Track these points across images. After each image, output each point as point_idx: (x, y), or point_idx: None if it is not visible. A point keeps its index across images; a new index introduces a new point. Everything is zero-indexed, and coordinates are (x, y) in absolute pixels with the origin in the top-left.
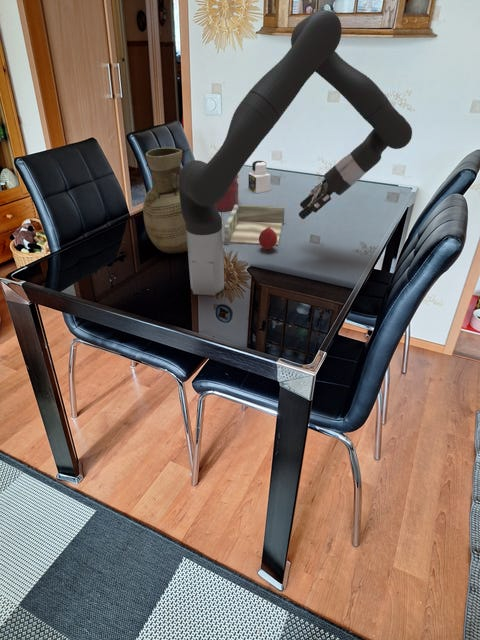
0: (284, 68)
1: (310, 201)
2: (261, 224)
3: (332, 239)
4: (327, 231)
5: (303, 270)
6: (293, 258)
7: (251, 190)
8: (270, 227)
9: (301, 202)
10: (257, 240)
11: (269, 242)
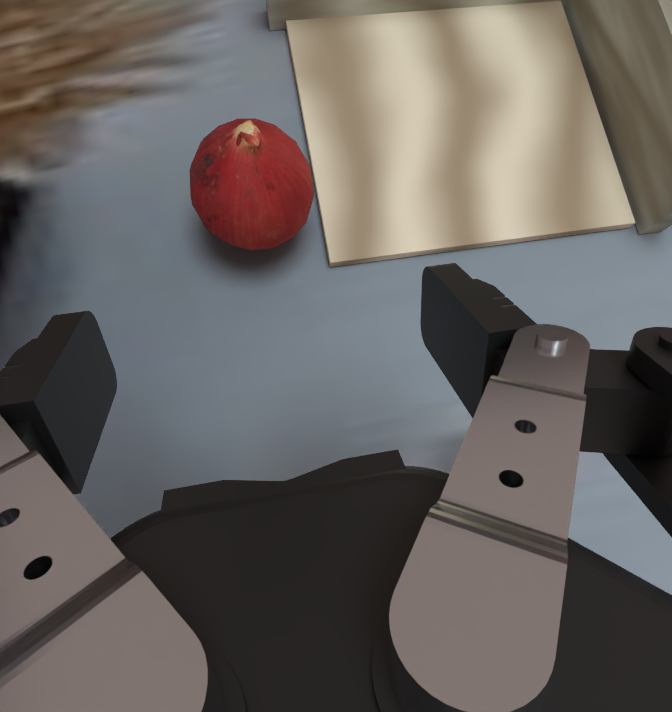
0: None
1: (467, 385)
2: (567, 118)
3: None
4: (653, 521)
5: None
6: (182, 390)
7: None
8: (256, 148)
9: (441, 273)
10: (343, 146)
11: (194, 207)
